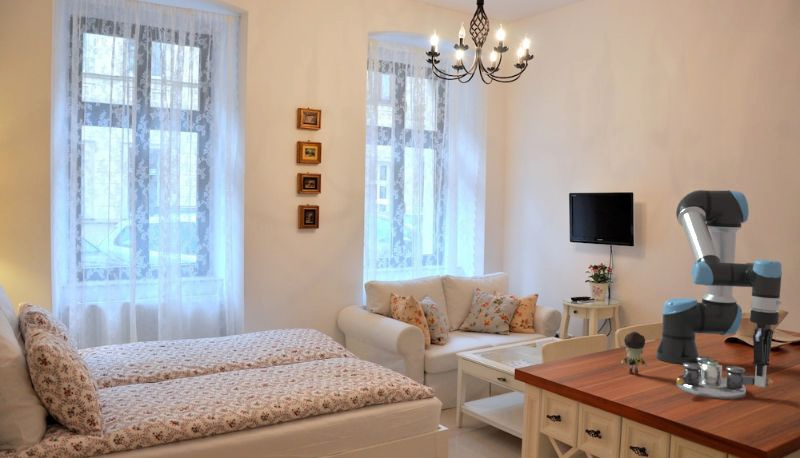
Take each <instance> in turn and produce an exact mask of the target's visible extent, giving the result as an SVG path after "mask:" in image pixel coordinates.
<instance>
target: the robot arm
mask: <svg viewBox="0 0 800 458" xmlns="http://www.w3.org/2000/svg"><path fill="white" fill-rule="evenodd" d="M749 210H750V209H749V204H748V200H747V198H746V195H744V193H743V192H741V191H739V190H738V191H737V190H705V189H700V190H693V191H691V192H688V194H686V195H685V196H683V198H682V199H680V201H679V203H678V204H677V207H676V212H675V213H676V214H675V215H676V220H677V222H678V224H679V225H680V226H681V227H682V228H683V231H684V233H685V236H686V240H687V243H688V246H689V248H690V250H691V253H692V257H693V259H694V260H693V261H694V263H693V264H692V266H691V272H690V273H691V274H690V275H691V280H692V282H693V283H694V284H695V285H699V286H701V285H702V286H706V287H707V288H706V293H705V294H704V295H703V296H702V297H701V302H698V301H697V299H696V298H695V297H676V298H675V297H673V298H669V299H667V300H665V301H664V303H663V308H662V327H661V328H662V330H661V339H660V342H659V344H658V347H657V349H656V351H655V352H656V353H655V354H656V355H655V357H656V359H658V360H660V361H664V362H667V363H672V364H679V365H683V363H686V362H689V363H696V364H698V361H697V360H696V359H697V357H698V356H700V353H699V349H698V345H697V342H696V334H703V335H704V334H708V335H720V336H724V335H728V336H730V335H731V336H732V335H734V334H736V333H737V332H738V331H739V329H740V327H741V324H742V319H743V313H742V310H743V309H742V306H741V305H740V304H738V303H737V302H738V300H737V299H736V298H735V297H734V296H733V292H734V291H733V288H734V287H737V288H738V287H739V288H740V287H741V288H743V287H744V288H751V299H750V309H751V310H750V314H749V315H750V317H749V320H750V322H752V323H753V324H756V327H755V328H754V334H752V340H753V341H752V342H753V343H752V344H753V362H752V365H755V370H754V372H755V373H754V376H755V384H754V385H753V386H756V387H760V388H766V386H765V383H766V377H767V366H769V367H770V366H771V362H770V357H771V356H770V355H771V349H772V347H771V346H772V342H773V341H772V340H773V335H774V331H773V329H772V326H775V325H778V324H779V315H780V314H779V312H778V311H779V310H780V305H782V301H781V300H780V297H781V284H782V282H781V281H782V275H783V272H782V270H783V269H782V268H783V267H782V263H781V262H780V261H778V260H769V259H756V260H754V262H746V263H737V262H735V259H736V258H735V257H736V256H735V255H736V240H737V232H738V231H739V230H740V229H741V228H742V224H744V223H746V222H747V221H748V220H749V219H748V217H749ZM769 362H770V363H769Z"/></svg>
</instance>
